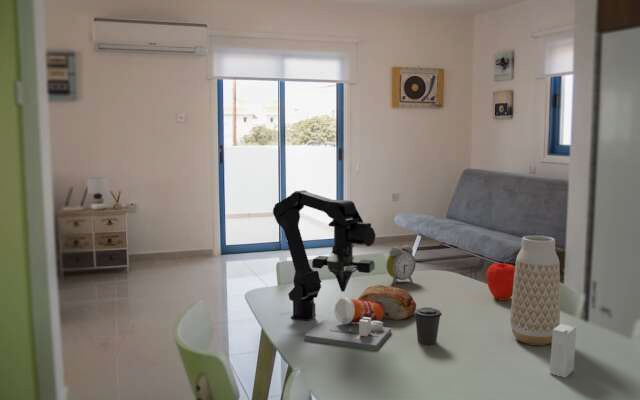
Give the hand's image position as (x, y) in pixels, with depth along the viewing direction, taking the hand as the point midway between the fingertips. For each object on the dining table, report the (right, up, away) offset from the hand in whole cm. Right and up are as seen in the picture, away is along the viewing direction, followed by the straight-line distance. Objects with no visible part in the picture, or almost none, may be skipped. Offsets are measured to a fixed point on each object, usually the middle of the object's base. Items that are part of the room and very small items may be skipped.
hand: (343, 291), depth 191 cm
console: (+1, -13, -5) cm, 14 cm away
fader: (+6, -11, -9) cm, 16 cm away
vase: (+56, -13, -8) cm, 59 cm away
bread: (+16, -10, +19) cm, 27 cm away
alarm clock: (+25, -5, +58) cm, 63 cm away
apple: (+60, -8, +34) cm, 69 cm away
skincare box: (+55, -17, -32) cm, 66 cm away
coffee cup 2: (+24, -14, -10) cm, 30 cm away
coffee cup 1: (+11, -8, +8) cm, 16 cm away
